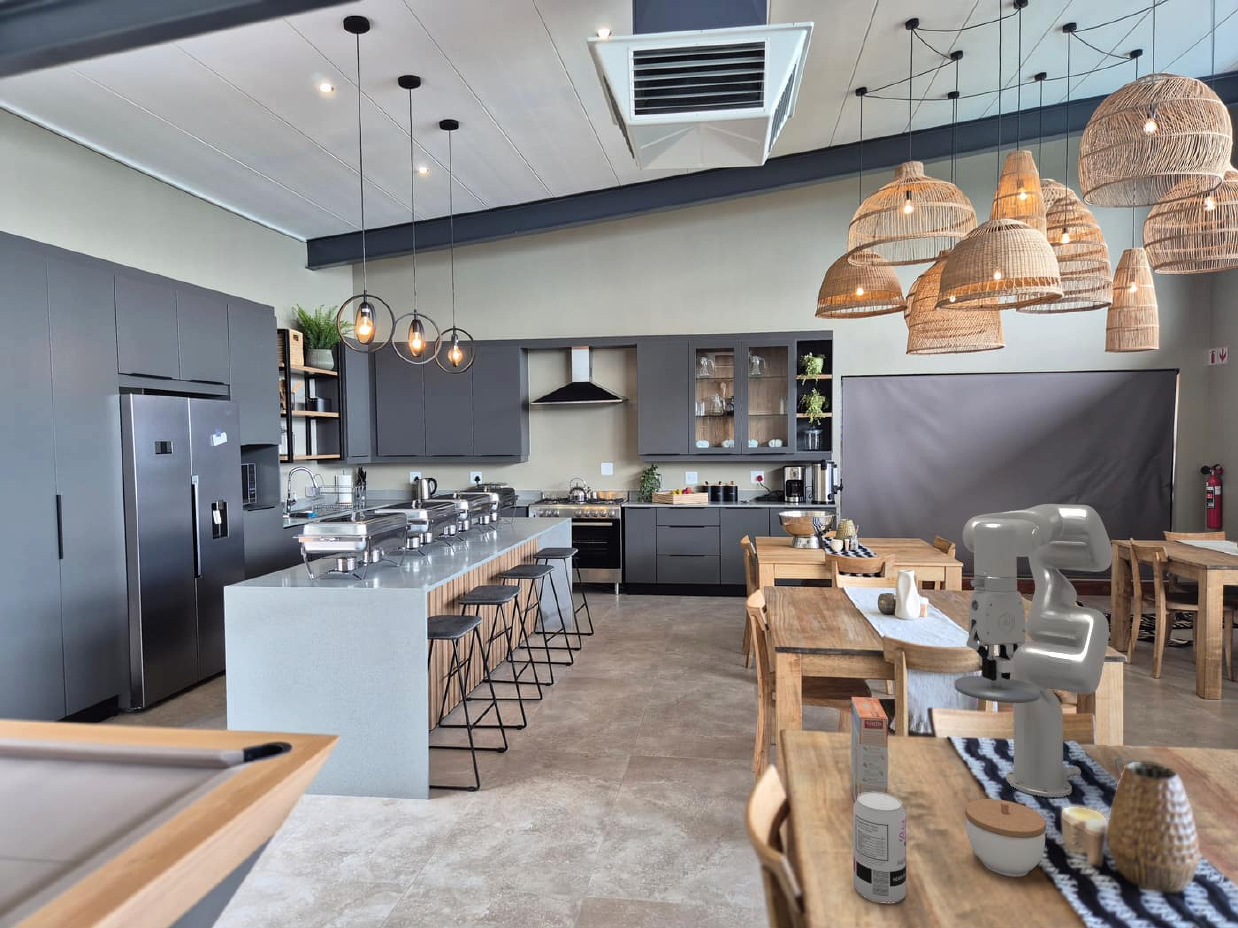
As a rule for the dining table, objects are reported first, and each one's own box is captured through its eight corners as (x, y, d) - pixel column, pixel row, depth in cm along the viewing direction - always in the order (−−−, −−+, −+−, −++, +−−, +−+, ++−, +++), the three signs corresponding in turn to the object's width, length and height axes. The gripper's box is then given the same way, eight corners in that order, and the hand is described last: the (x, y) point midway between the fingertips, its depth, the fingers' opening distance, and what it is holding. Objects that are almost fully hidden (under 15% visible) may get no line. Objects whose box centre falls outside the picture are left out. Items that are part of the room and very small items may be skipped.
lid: (1059, 699, 141) (1058, 664, 141) (992, 705, 138) (991, 670, 138) (1000, 678, 156) (1000, 647, 156) (938, 683, 152) (938, 651, 152)
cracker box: (889, 824, 147) (889, 717, 147) (857, 821, 148) (857, 715, 148) (879, 794, 160) (879, 696, 161) (850, 792, 162) (849, 695, 162)
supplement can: (845, 879, 127) (845, 790, 127) (892, 877, 127) (892, 789, 128) (865, 907, 119) (865, 812, 119) (915, 904, 119) (915, 810, 120)
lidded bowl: (976, 840, 140) (975, 781, 140) (1053, 863, 132) (1052, 800, 132) (956, 868, 130) (956, 804, 130) (1038, 894, 122) (1037, 826, 122)
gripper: (973, 589, 141) (974, 686, 141) (1044, 585, 145) (1045, 680, 145) (947, 583, 149) (948, 676, 148) (1015, 580, 153) (1016, 670, 152)
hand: (996, 677), depth 147 cm, fingers closed on lid, 2 cm apart
